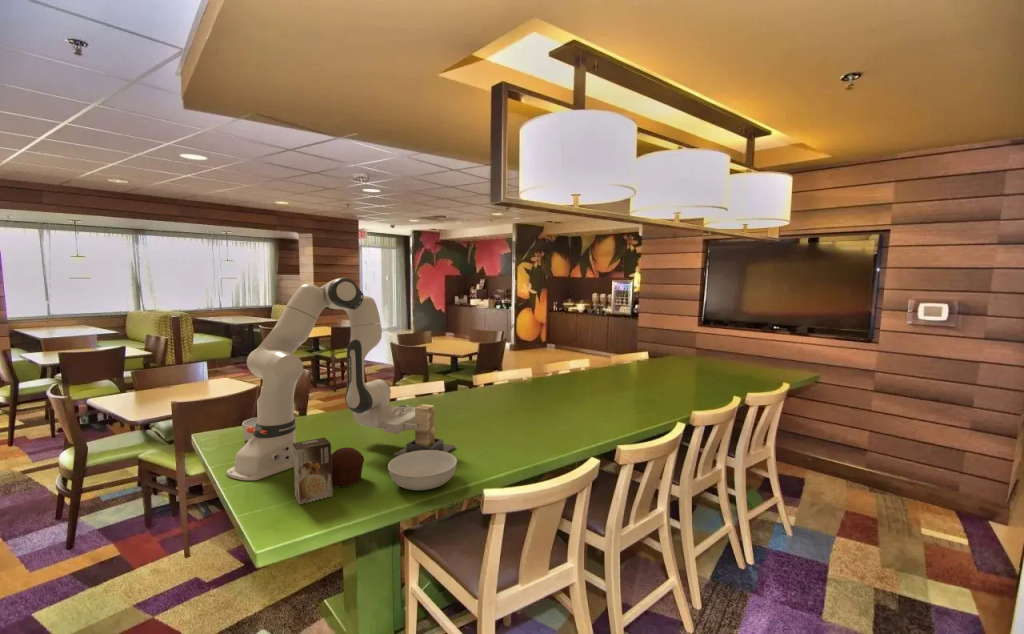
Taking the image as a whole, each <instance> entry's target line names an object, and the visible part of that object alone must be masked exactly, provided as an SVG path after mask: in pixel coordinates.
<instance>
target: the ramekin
mask: <svg viewBox="0 0 1024 634" xmlns="http://www.w3.org/2000/svg"><path fill="white" fill-rule="evenodd" d="M257 422H258V418H257V417H252V418H249V419H248V418H247V419H246V420H243V422H242V424H241V427H242V430H243V431H242V432H243V436H244V439H245V441H247V442H248V441H249V440H250V439H251V438H252V437H253V433H247V432H246V429H248V428H247V427H254V428H255V426H256V424H257Z"/></svg>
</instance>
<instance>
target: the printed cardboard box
mask: <svg viewBox="0 0 1024 634" xmlns="http://www.w3.org/2000/svg"><path fill="white" fill-rule="evenodd" d="M331 454H332V445H331V442H330V441H329V440H328V439H327V438H326V437H320V438H313V439H309V440H305V441H298V442H296V443H293V457H294V467H293V473H294V474H293V476H294V498H295V497H296V498H295V500H296V501H297V503H298V505H299V504H302V505H304V504H303V503H306V504H309V503H308V502H310V503H312V501H313V502H316V501H315V500H317V501H320V500H319V499H321V500H323V498H325V499H328V498H327V497H329V498H332V497H333V496H334V495H333V492H334V489H333V487H334V486H333V485H332V463H331Z"/></svg>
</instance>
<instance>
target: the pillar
mask: <svg viewBox="0 0 1024 634" xmlns="http://www.w3.org/2000/svg"><path fill="white" fill-rule="evenodd" d="M415 423H416V424H419V428H418V429H416V430H414V433H415V435H414V438H415V439H414V440H415V445H420V446H426V447H430V446H431V445H433V444H434V443H435V438H436V435H435V433H436V430H435V405H433V404H424V403H423V404H420V405H418V406H415Z"/></svg>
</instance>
